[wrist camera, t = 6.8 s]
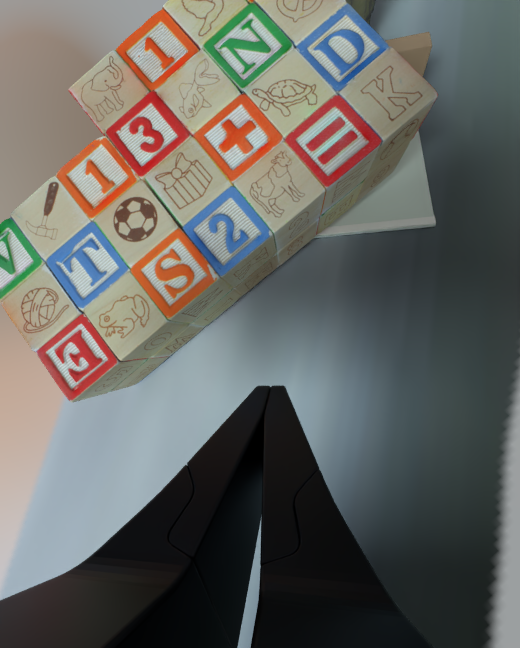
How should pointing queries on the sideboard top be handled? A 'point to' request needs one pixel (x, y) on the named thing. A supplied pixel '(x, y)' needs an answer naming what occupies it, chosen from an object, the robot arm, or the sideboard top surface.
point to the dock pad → (395, 174)
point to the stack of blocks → (200, 177)
